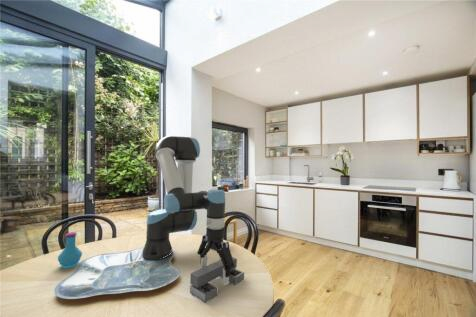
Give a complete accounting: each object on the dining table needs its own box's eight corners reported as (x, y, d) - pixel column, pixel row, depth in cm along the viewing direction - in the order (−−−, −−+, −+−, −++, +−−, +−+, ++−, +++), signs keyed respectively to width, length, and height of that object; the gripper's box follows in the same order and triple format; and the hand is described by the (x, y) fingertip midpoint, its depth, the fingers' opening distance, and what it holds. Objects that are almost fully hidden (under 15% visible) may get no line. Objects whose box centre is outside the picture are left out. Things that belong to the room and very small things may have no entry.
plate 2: (219, 277, 97) (219, 270, 97) (229, 272, 101) (229, 265, 101) (234, 285, 91) (234, 277, 91) (244, 279, 95) (244, 272, 95)
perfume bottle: (83, 265, 105) (84, 233, 105) (59, 271, 98) (60, 238, 98) (79, 258, 111) (80, 229, 111) (55, 264, 104) (57, 233, 105)
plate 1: (189, 292, 85) (190, 284, 85) (201, 286, 89) (202, 279, 89) (204, 303, 79) (205, 294, 79) (217, 295, 83) (217, 287, 83)
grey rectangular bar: (189, 292, 85) (190, 272, 85) (229, 272, 101) (229, 254, 101) (197, 297, 82) (197, 276, 82) (236, 275, 98) (236, 257, 98)
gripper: (190, 222, 98) (188, 270, 97) (230, 236, 81) (229, 294, 81) (203, 219, 103) (202, 265, 103) (243, 231, 87) (242, 285, 86)
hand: (214, 277), depth 92 cm, fingers open, 13 cm apart
